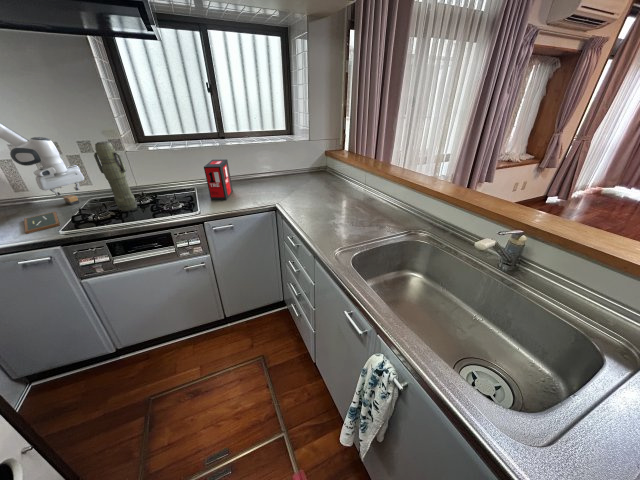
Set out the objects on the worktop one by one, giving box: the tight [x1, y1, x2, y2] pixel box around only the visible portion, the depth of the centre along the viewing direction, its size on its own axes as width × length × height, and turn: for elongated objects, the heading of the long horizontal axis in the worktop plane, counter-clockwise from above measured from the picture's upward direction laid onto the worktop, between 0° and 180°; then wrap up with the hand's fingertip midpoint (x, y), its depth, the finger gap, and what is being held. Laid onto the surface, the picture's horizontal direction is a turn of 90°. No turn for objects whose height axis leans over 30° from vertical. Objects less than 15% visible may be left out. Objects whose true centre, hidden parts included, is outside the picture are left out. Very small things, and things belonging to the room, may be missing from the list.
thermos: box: [93, 141, 138, 212], centre depth 140 cm, size 9×12×35 cm
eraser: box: [62, 194, 80, 206], centre depth 154 cm, size 6×4×4 cm, turn 65°
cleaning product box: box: [203, 158, 234, 202], centre depth 160 cm, size 16×9×20 cm, turn 3°
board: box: [23, 211, 61, 235], centre depth 132 cm, size 20×12×1 cm, turn 45°
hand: (68, 192), depth 152 cm, fingers open, 8 cm apart
